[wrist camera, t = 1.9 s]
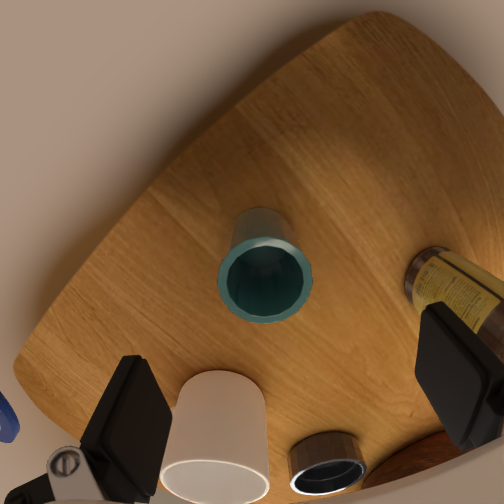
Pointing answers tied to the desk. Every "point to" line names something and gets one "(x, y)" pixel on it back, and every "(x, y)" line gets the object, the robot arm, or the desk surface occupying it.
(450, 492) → the robot arm
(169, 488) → the mug
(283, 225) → the cup
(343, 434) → the bowl
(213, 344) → the desk surface
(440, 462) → the wooden bowl
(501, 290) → the sauce bottle
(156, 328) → the desk surface
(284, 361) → the desk surface
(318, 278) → the desk surface
